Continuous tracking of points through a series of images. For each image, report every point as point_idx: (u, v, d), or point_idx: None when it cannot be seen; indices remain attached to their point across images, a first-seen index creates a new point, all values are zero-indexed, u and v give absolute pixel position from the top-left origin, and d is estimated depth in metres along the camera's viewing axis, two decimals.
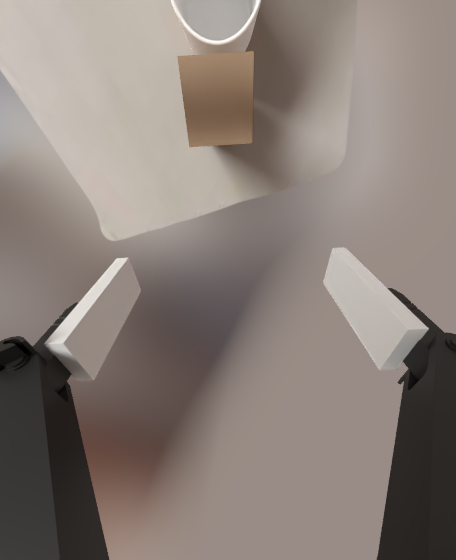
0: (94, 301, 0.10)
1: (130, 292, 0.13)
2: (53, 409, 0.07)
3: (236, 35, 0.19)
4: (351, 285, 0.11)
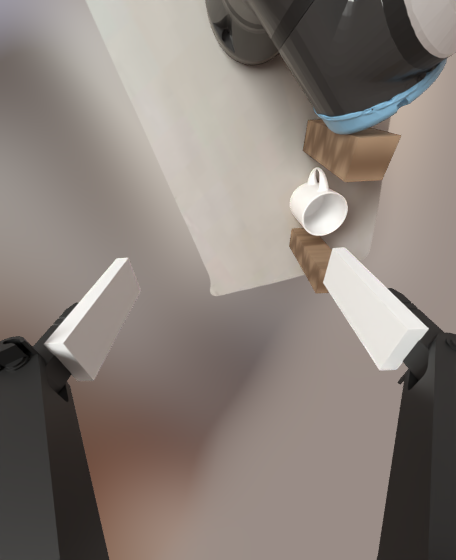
0: (94, 301, 0.10)
1: (130, 292, 0.13)
2: (53, 409, 0.07)
3: (328, 233, 0.42)
4: (350, 285, 0.11)
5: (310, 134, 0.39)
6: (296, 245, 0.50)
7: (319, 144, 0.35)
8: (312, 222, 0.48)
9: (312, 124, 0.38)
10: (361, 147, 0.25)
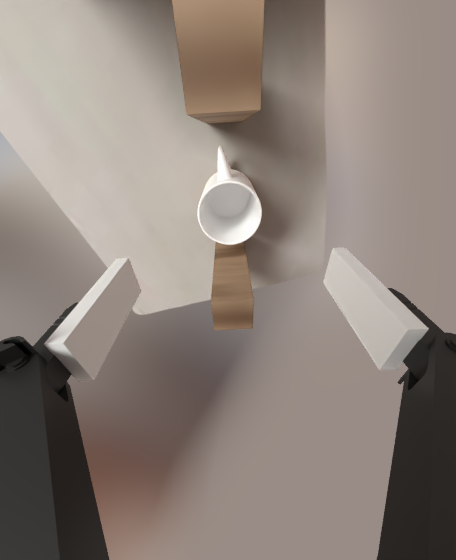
0: (94, 301, 0.10)
1: (130, 292, 0.13)
2: (53, 409, 0.07)
3: (242, 241, 0.30)
4: (351, 285, 0.11)
5: None
6: None
7: None
8: (234, 225, 0.35)
9: None
10: (186, 24, 0.12)
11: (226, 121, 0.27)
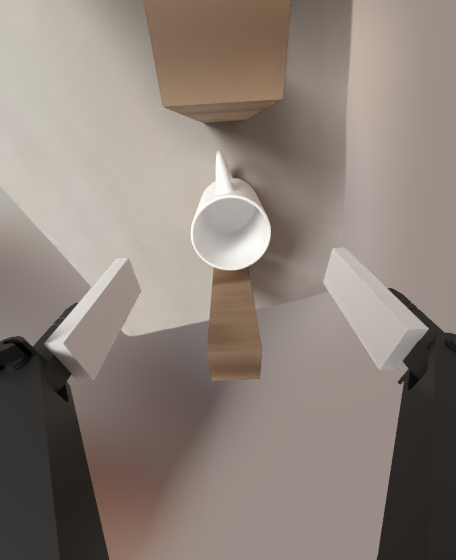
0: (94, 301, 0.10)
1: (130, 292, 0.13)
2: (53, 409, 0.07)
3: (246, 266, 0.24)
4: (350, 285, 0.11)
5: None
6: None
7: None
8: (235, 242, 0.30)
9: None
10: None
11: (226, 120, 0.22)
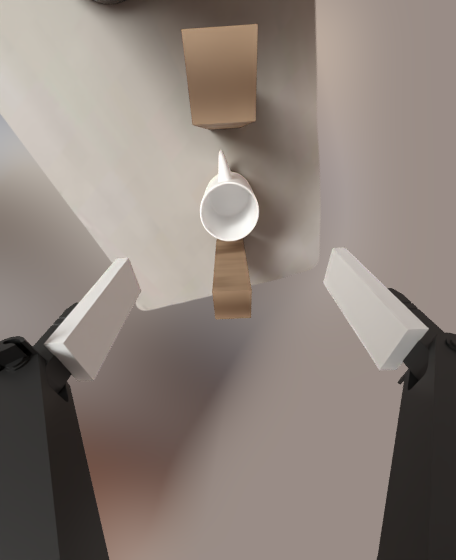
0: (94, 301, 0.10)
1: (130, 292, 0.13)
2: (53, 409, 0.07)
3: (241, 237, 0.32)
4: (351, 285, 0.11)
5: None
6: None
7: None
8: (233, 223, 0.37)
9: None
10: (193, 51, 0.14)
11: None
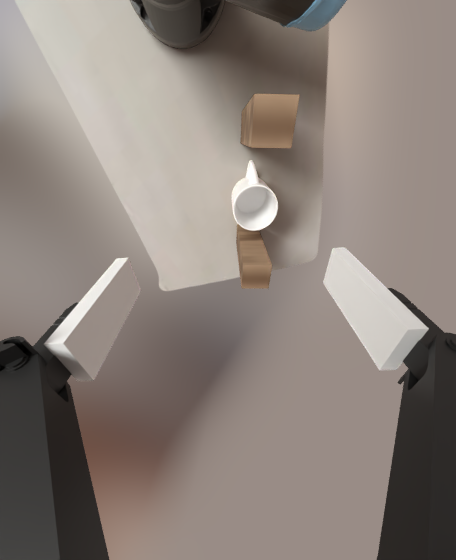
0: (94, 301, 0.10)
1: (130, 292, 0.13)
2: (53, 409, 0.07)
3: (262, 228, 0.41)
4: (350, 285, 0.11)
5: (242, 123, 0.38)
6: None
7: (244, 126, 0.34)
8: (253, 218, 0.47)
9: None
10: (259, 106, 0.23)
11: None
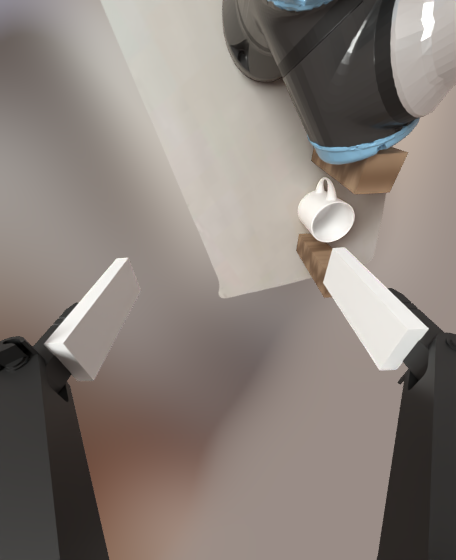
0: (94, 301, 0.10)
1: (130, 292, 0.13)
2: (53, 409, 0.07)
3: (336, 239, 0.44)
4: (350, 285, 0.11)
5: None
6: (303, 250, 0.52)
7: None
8: (319, 228, 0.50)
9: None
10: (370, 163, 0.27)
11: None
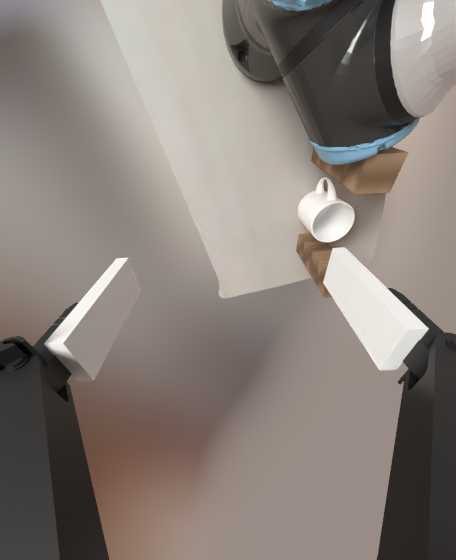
0: (94, 301, 0.10)
1: (130, 292, 0.13)
2: (53, 409, 0.07)
3: (336, 239, 0.44)
4: (351, 285, 0.11)
5: None
6: (304, 250, 0.52)
7: None
8: (319, 228, 0.50)
9: None
10: (370, 163, 0.27)
11: None
